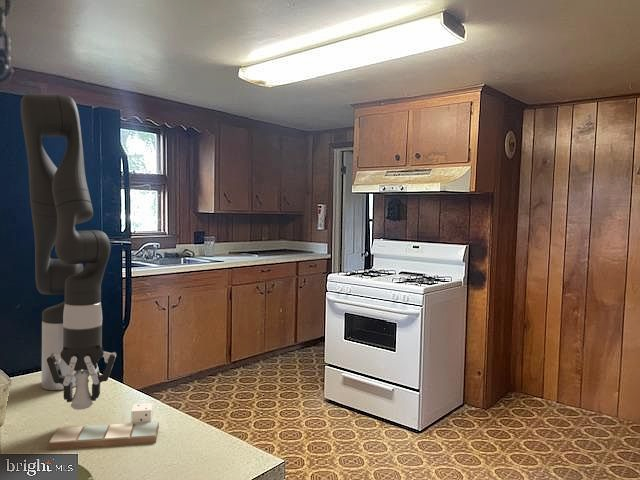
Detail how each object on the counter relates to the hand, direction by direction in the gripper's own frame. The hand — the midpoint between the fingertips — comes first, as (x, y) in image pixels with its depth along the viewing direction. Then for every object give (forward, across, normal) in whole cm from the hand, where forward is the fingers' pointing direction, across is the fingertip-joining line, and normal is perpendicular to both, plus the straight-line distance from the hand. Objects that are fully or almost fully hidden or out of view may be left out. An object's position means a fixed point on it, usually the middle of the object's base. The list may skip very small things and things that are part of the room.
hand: (82, 399), depth 107 cm
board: (+5, +6, -8) cm, 11 cm away
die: (+5, +13, -3) cm, 14 cm away
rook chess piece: (+2, 0, 0) cm, 2 cm away
